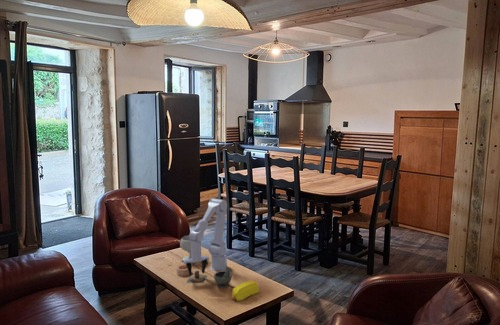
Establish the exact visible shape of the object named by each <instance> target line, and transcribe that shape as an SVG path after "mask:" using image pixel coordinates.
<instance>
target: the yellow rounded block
mask: <svg viewBox="0 0 500 325" xmlns="http://www.w3.org/2000/svg"><path fill="white" fill-rule="evenodd" d="M259 292H260V288H259V284H258V283H257V282H256V281H254V280H248V281H245V282H242V283H240V284H239V285H236V286H234V288H232V294H231V299H232V300H233V301H238V302H241V301H242V300H245V299H247V298H248V297H251V296H254V295H257V294H258V293H259Z"/></svg>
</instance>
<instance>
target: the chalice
mask: <svg viewBox="0 0 500 325" xmlns="http://www.w3.org/2000/svg"><path fill="white" fill-rule="evenodd" d="M179 246H180V248H181V250H183V251H184V252H187V253H188V254H189V255H187V256H184V257H182V259H181V261H182V262H183V263H184V260H187V259H190V258H191V243H190V240H189V234H188V235H184V236H182V237H181V239H180V242H179Z"/></svg>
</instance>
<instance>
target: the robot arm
mask: <svg viewBox="0 0 500 325" xmlns="http://www.w3.org/2000/svg"><path fill="white" fill-rule="evenodd" d="M207 206H208V207H207V210H206V211H205V213H204V215H203V217H202V219H200V220H199V221H198V222H197V224H196V226H195V227H194V229H193V230H192V231H190V232H189V234H188V235H189V240H190V243H191V258H190V259H187V260H184V262H183V265H186V266H187V268H188V271H189V275H188V276H189V277H190V276H192V275H193V274H192V272H193V271H192V268H193V265H192V264H193V263H198V262H200V263H201V273H202V274H204V273H205V270H206V267H207V266H208V264H209V262H208V261H210V257H211V267H210V271H218V272H219V271H227V268H228V260H227V259H228V257H227V256H228V255H227V254H226V252H227V248H226V242H225V241H224V240H223V236H224V228H225V220H226V215H227V209H228V202H227V201H226V199H221V198H219V199H218V198H214V197H211V198H210V199H209V201H208V203H207ZM214 213H216V217H215V218H216V221H215V227H214V235H213V239H212V240H210V241H209V242H210V243H209V245H208V252H209V253H210V254H209V255H210V257H209V256H208V255H206V256H202V241H203V239H204V234H205V231H206V229H207V227H208V226H209V223H208V222H209V220H210V219H211V218H212V217H213V215H214Z"/></svg>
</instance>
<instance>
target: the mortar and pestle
mask: <svg viewBox="0 0 500 325" xmlns="http://www.w3.org/2000/svg"><path fill="white" fill-rule="evenodd" d="M213 274H214V275H213V278H214V281H215V283H216V284H217V287H219V288H221V289H222V288H223V289H225V288H228V287H229V283H231V281H232V278H233V277H232V276H233V275H232V268H231V267H226V270H225V271H219V270H218V271H216V272H215V273H213Z"/></svg>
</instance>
